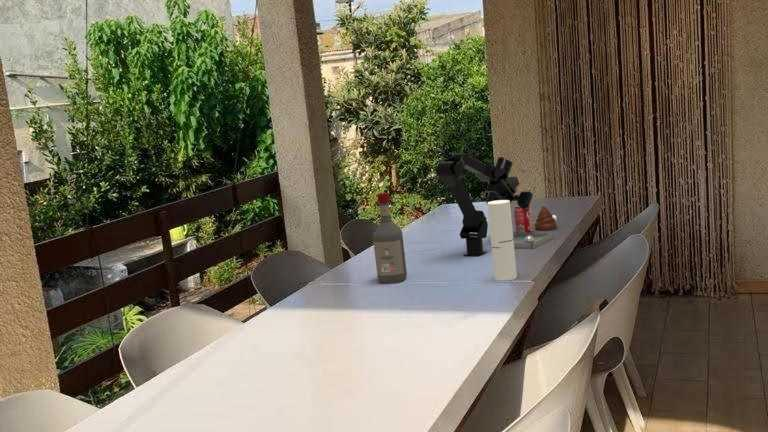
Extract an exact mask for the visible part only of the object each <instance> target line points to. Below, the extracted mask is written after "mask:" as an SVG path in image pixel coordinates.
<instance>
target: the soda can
mask: <svg viewBox="0 0 768 432" xmlns="http://www.w3.org/2000/svg"><path fill="white" fill-rule="evenodd" d="M513 212H514V213H513V214H514V216H513V217H514V224H515V225H514V226H515V233H516V232H521V233H534V219H533V218H534V217H533V209H532V207H531V203H530V204H529V212H527V211H525V210H523V209H521V208H520V206H518V204H516V205H515V206H514V210H513Z"/></svg>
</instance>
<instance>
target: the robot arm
mask: <svg viewBox="0 0 768 432" xmlns="http://www.w3.org/2000/svg"><path fill="white" fill-rule="evenodd" d="M512 168H513V162H512V161H511V160H509V159H507V158H505V157H503V156H501V157H497V161H496V163H495V165H493V164H485V163H483V162H481V161H479V160H477V159H476V158H473V157H472V156H469V154H467V153H465V152H459V153H457V152H456V153H455V154H453V155H452V156H450V157H448V158H446V159H444V160H442V161H440V162H439V163H437V165H436V168H435V173H436V175H437V177H438V179H439V180H440V181H441V182H442V183H443V184H445V185H446V186H448V188H449V190H450V191H451V194H452V196H453V198H454V200H455V201H456V203H457V205H458V206H457V207H459V210H460V212H461V214H462V216H463V218H462V222H461V223H462V227H461V229H460V232H459V236H460V239H461V240H464V239H465V242H466V243H465V245H466V253H463V256H464V257H466V256H467V257H470V256H471V257H480V256H483V255H484V254H486V253H488V251H487V250H484V244H483V239H485V238H487V237H488V235H487V234H488V226H489V224H488V221H487V220H488V218H487V216H485V212H484V211H483V210H478V209H476V207H475V206H474V203H473V201H472V199H471V197H470V196H469V193H468V191H467V189H466V188H465V185H464V183H463V181H462V176H463V171H464V170H465V169H466V170H467V171H470V172H471V173H473V174H474V175H475V177H476V179H478V180H479V181H480V182H487V184H486V185H487V186H486V192H489V193H488V196H487V198H486V200H485V203H486V205H487V206H488V204H487V203H488V202H491V201H497V200H509V201H510V204H511V203H512V202H517V205H518V206H520V208H521V209H523V210H525V211H527V212H529V204H530V205H531V201H532V199H533V193H532V192H531V191H530V190H529V191H528V190H527V191H526V190H524V191H523V190H522V191H520V193H519V194H516V193H517V191H518V190H517V187H518V186H520V181H519V178H518V177H517V176H510V173H511V170H512Z"/></svg>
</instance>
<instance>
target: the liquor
mask: <svg viewBox="0 0 768 432" xmlns="http://www.w3.org/2000/svg"><path fill="white" fill-rule="evenodd" d="M389 199H390V195H389V193H388V192H380V193H377V201H378V202H377V203H378V206H379V215H380V220H379V221H380V222H379V224H378V226H377V227H376V229H375V231H374V232H373V233H372V240H373V241H372V243H373V251H374V257H375V266H376V267H375V268H376V274H377V281H378V282H379V284H383V285H385V284H399V283H403V282H404V281H405V280H406V279H407V277H408V272H407V270H408V269H407V265H406V264H407V263H406V253H405V246H404V245H405V244H404V238H403V237H404V236H403V231H402V228H401V227H399V226H398V225H397V224H396V223H395V222H394V221H393V220H392V217H391V211H390V200H389Z"/></svg>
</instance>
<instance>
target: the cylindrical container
mask: <svg viewBox="0 0 768 432" xmlns="http://www.w3.org/2000/svg"><path fill="white" fill-rule="evenodd" d="M487 204H488V205H487ZM487 204H486V205H487V213H488V221H489V224H488V226H489V232H490V233H489V235H490V243H491V252H492V253H491V256H492V264H493V265H492V266H493V274H494V275H493V277H494V281H500V282H506V281H507V282H508V281H512V280H516V279H517V278H518V277H517V276H518V275H517V273H518V272H517V264H516V253H515V248H514V241H513V234H514V233H513V230H514V229H513V222H512V221H513V220H512V211H511V210H512V209H511V203H510V201H509V200H497V201H491V202H488V203H487Z"/></svg>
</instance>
